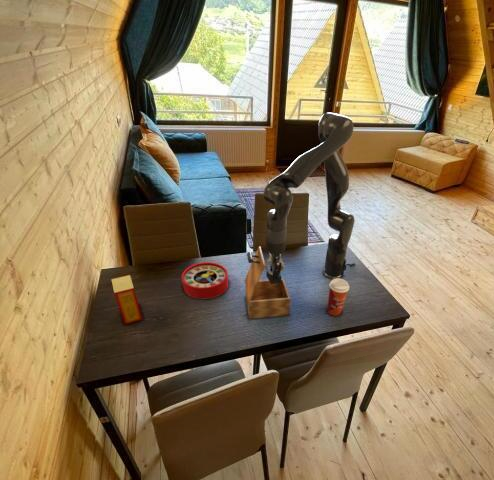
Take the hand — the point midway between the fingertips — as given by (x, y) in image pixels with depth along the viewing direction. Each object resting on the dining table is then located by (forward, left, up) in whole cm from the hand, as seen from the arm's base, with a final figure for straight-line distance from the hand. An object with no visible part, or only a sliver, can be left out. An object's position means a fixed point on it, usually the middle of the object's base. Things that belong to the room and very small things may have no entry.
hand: (274, 274), depth 127 cm
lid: (+8, 0, +1) cm, 8 cm away
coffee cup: (-26, +7, -17) cm, 32 cm away
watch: (0, -1, -3) cm, 3 cm away
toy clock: (+28, -18, -17) cm, 37 cm away
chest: (+3, 0, -16) cm, 17 cm away
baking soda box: (+57, -2, -17) cm, 59 cm away
